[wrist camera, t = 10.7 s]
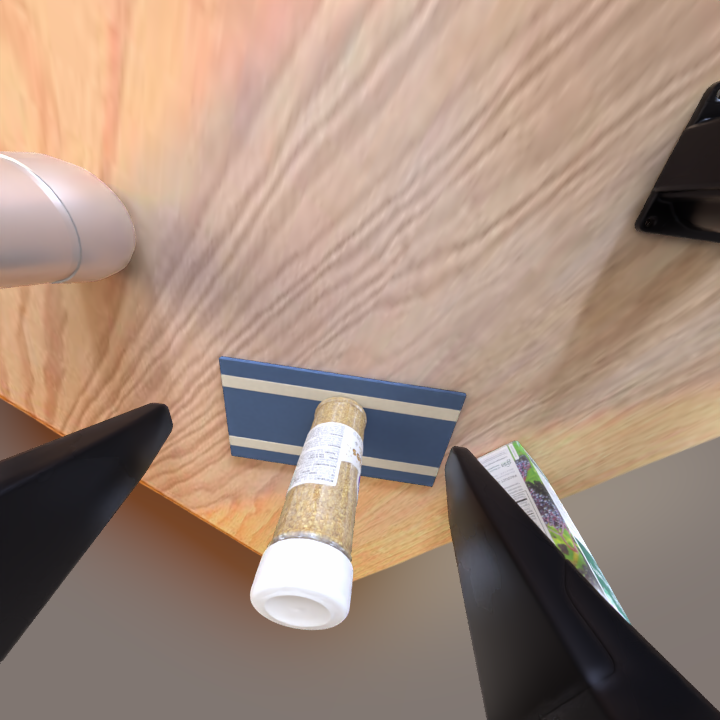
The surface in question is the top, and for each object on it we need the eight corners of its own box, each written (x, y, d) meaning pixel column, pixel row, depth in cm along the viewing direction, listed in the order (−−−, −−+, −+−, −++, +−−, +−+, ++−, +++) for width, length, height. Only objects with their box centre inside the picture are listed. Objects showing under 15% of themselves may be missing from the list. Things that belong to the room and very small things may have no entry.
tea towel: (465, 392, 23) (466, 396, 22) (431, 483, 28) (432, 487, 27) (221, 356, 23) (218, 358, 22) (233, 452, 28) (231, 455, 28)
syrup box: (546, 474, 26) (702, 730, 13) (488, 498, 28) (573, 738, 15) (515, 437, 24) (660, 689, 11) (456, 466, 26) (522, 705, 14)
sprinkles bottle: (368, 435, 25) (353, 638, 13) (318, 435, 25) (260, 630, 14) (365, 392, 23) (342, 589, 11) (310, 393, 23) (233, 583, 11)
